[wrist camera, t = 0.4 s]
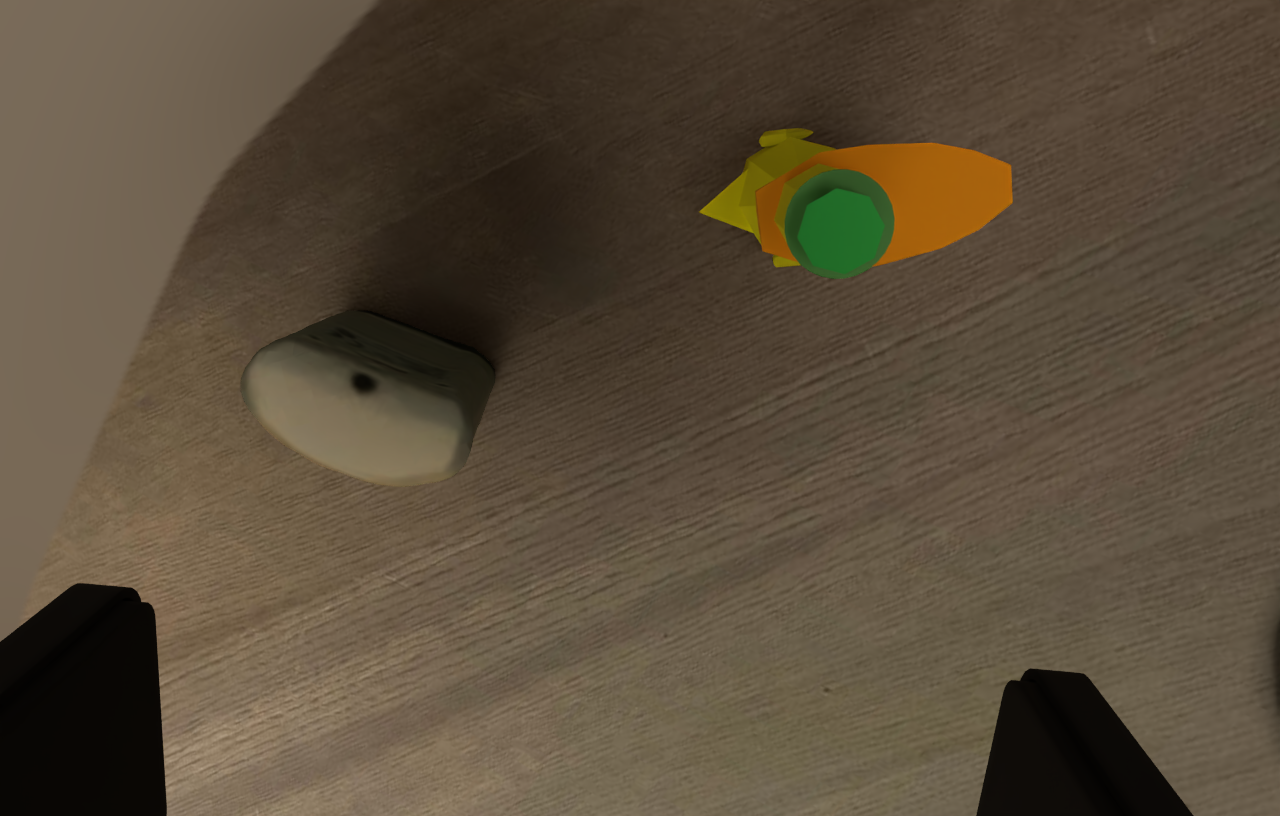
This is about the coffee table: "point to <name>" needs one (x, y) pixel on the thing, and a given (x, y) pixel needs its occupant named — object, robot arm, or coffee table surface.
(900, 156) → the toy figure
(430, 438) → the cream rounded block
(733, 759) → the coffee table surface
